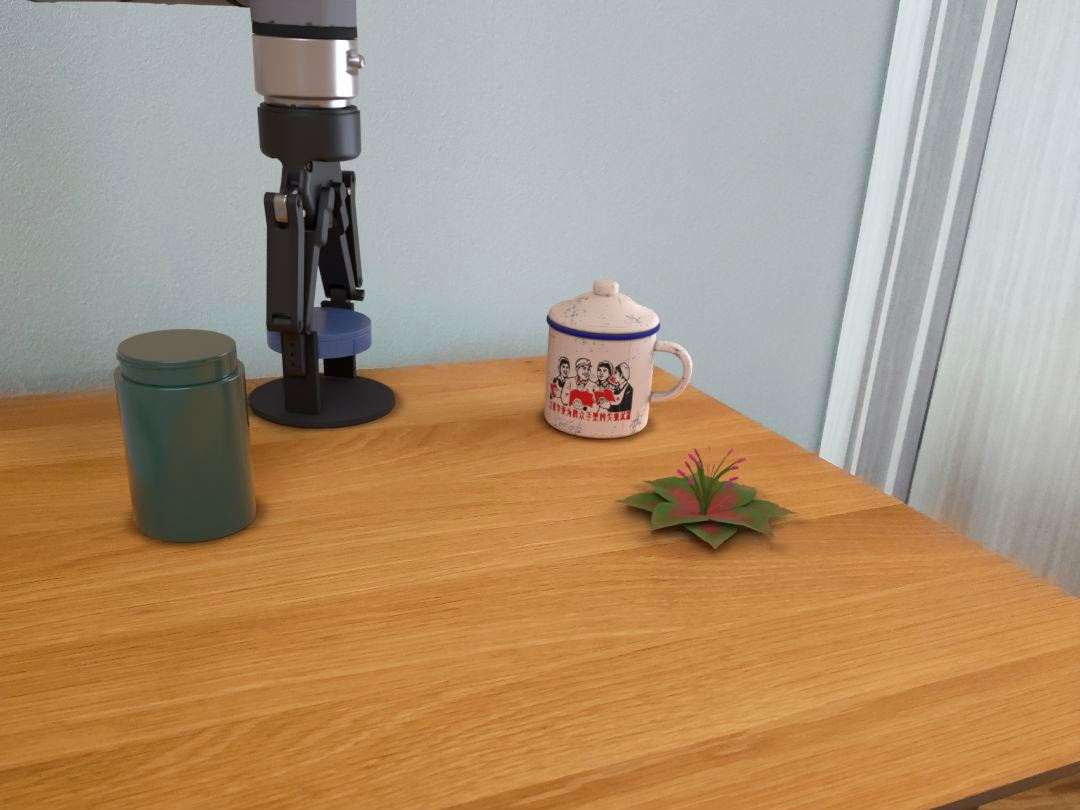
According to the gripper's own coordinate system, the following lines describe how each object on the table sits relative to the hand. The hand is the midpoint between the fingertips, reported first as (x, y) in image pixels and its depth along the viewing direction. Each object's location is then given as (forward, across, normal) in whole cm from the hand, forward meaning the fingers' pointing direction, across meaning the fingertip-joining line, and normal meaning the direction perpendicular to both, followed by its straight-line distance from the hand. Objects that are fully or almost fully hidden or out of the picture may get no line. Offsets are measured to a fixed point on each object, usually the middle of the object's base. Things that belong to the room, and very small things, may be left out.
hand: (322, 392), depth 89 cm
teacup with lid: (+1, +2, -24) cm, 24 cm away
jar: (+1, -23, 0) cm, 23 cm away
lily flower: (+1, -14, -32) cm, 35 cm away
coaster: (+1, 0, 0) cm, 1 cm away
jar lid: (-6, 0, 0) cm, 6 cm away
